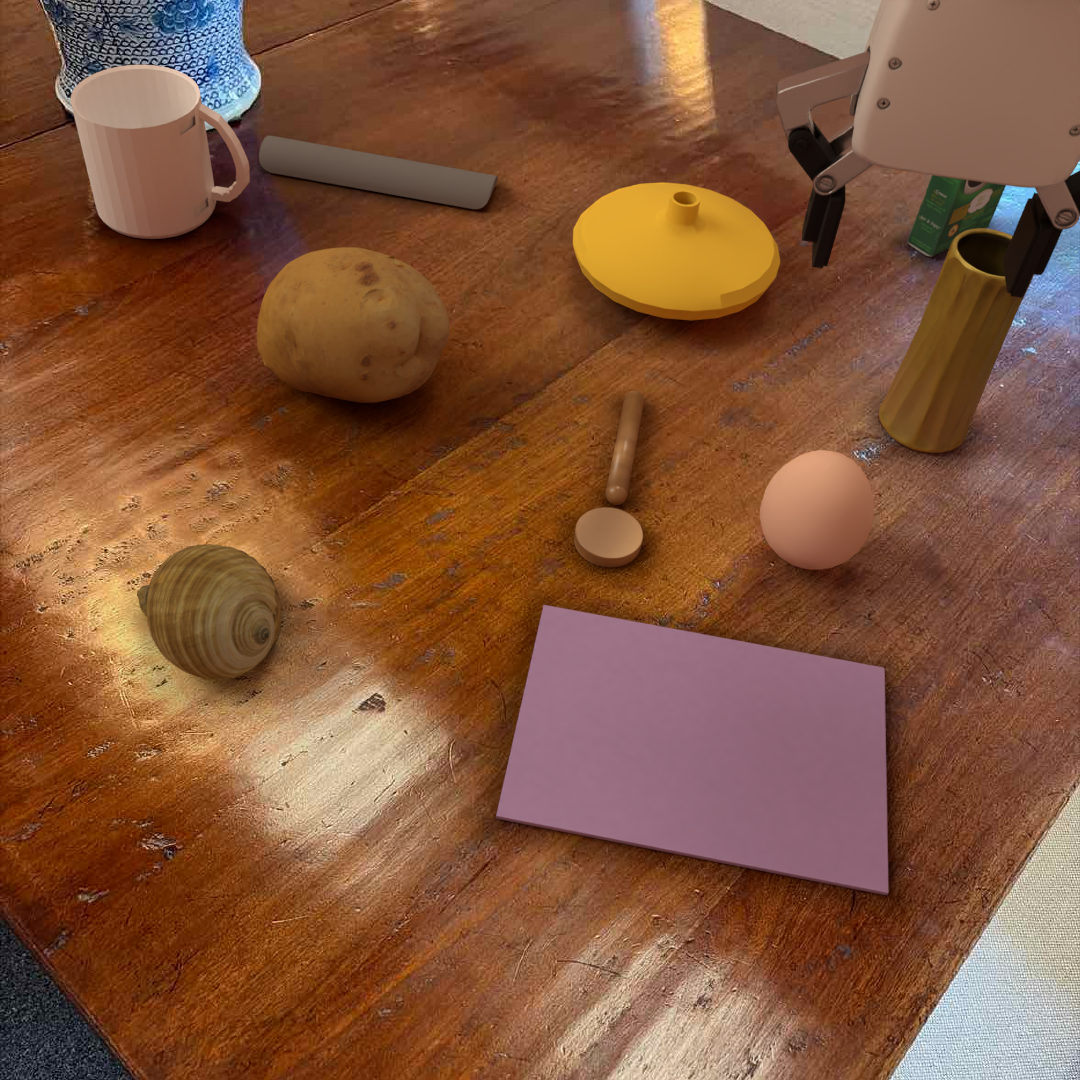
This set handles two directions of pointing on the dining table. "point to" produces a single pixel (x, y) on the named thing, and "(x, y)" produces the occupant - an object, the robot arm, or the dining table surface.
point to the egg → (817, 510)
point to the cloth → (703, 749)
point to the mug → (151, 150)
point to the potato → (352, 325)
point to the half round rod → (376, 172)
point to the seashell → (212, 611)
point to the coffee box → (952, 212)
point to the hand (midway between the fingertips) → (914, 266)
